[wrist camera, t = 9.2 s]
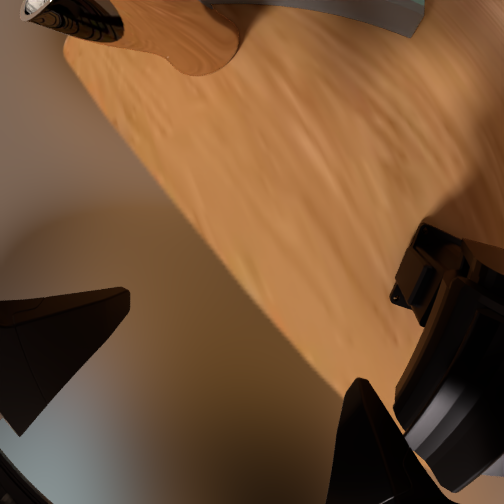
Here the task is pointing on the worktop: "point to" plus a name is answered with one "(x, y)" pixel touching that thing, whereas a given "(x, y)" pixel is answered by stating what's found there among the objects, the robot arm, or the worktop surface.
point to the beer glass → (145, 28)
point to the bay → (358, 11)
